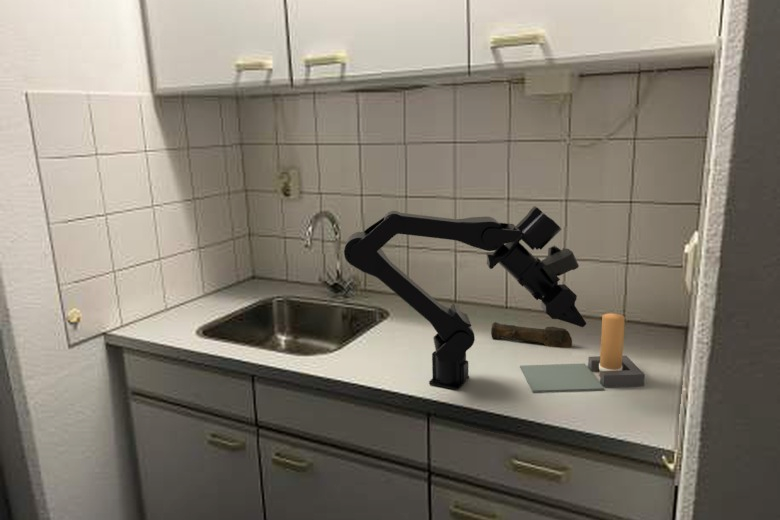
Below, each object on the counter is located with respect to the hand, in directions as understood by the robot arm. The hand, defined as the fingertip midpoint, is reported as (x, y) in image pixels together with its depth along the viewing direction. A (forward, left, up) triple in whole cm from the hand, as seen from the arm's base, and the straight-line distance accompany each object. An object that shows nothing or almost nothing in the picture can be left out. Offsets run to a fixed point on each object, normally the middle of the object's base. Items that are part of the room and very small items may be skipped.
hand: (577, 317), depth 120 cm
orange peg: (+6, +4, -13) cm, 15 cm away
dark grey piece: (+6, +4, -13) cm, 15 cm away
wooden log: (-14, +16, -14) cm, 25 cm away
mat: (-3, -1, -13) cm, 13 cm away
